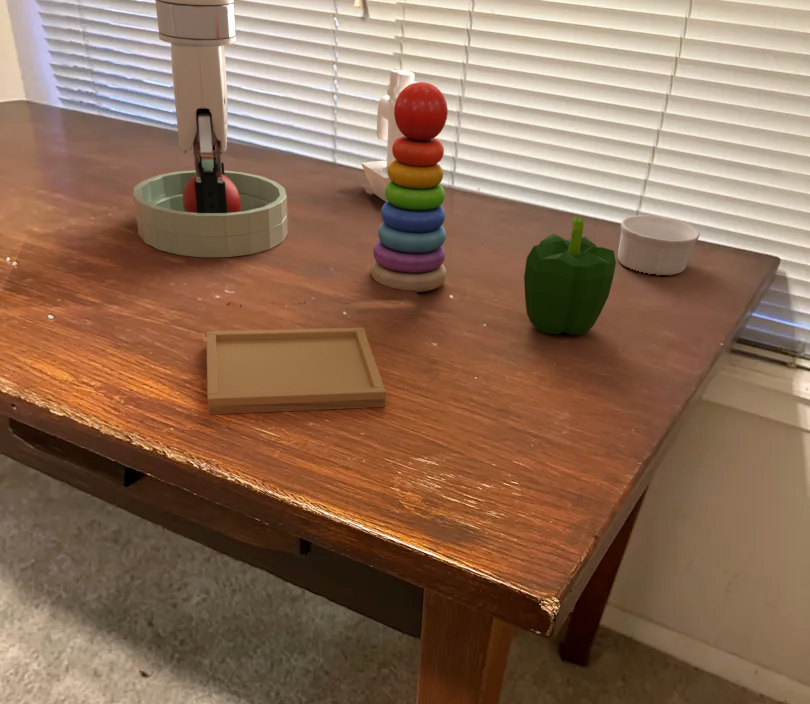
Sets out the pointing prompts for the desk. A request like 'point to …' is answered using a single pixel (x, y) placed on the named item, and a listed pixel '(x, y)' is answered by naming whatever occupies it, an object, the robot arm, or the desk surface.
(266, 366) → the tray
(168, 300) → the desk surface
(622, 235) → the ramekin
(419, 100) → the stacking toy
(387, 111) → the figurine
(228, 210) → the red round based ball
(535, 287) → the bell pepper
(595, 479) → the desk surface
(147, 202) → the bowl
